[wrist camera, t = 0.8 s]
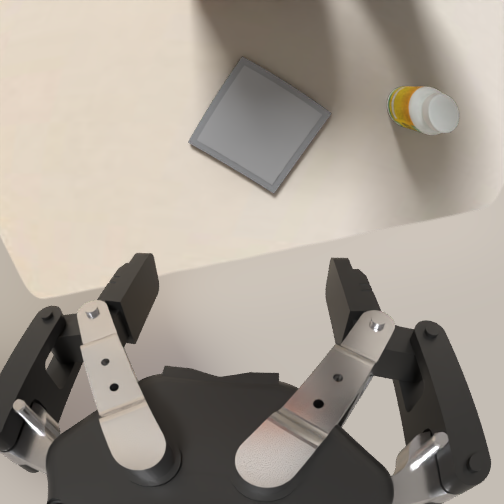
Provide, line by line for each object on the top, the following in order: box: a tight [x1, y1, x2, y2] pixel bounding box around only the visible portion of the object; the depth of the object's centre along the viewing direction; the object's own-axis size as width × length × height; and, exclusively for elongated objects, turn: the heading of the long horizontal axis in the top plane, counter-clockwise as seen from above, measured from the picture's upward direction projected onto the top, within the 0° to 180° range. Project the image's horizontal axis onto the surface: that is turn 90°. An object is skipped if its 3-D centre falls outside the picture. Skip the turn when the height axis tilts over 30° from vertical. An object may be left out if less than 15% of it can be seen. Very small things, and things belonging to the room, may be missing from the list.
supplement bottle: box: [387, 86, 459, 135], centre depth 25 cm, size 5×5×10 cm
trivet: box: [188, 57, 332, 193], centre depth 32 cm, size 12×12×1 cm
